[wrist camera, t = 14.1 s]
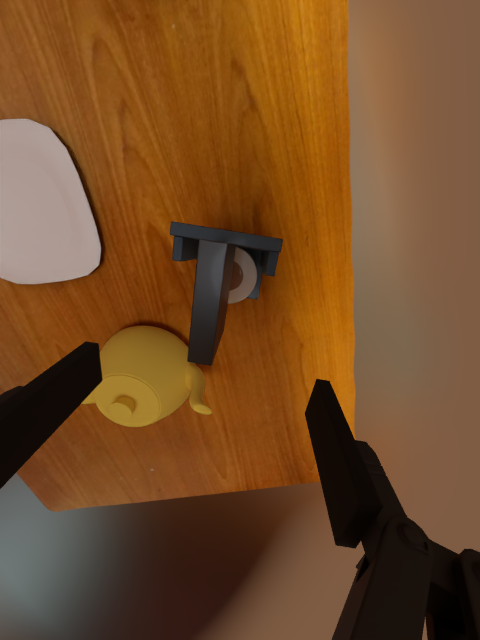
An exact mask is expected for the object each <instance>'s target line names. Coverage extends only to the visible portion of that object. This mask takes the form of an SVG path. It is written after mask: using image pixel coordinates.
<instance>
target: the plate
mask: <svg viewBox="0 0 480 640" xmlns="http://www.w3.org/2000/svg"><path fill="white" fill-rule="evenodd" d="M101 250H102V247H101V243H100V239H99V234H98V230H97V226H96V223H95V220H94V217H93V214H92V211H91V208H90V204H89V201H88V199H87V196H86V193H85V190H84V187H83V185H82V182H81V179H80V176H79V174H78V171H77V169H76V167H75V165H74V163H73V160H72V158H71V156H70V154H69V152H68V149H67V148H66V147H65V146H64V144H63V143H62V142H61V141H60V139H59V138H58V137H57V136H56V135H55V133H54V132H53V131H52V130H51V128H49V127H46V126H44V125H41V124H39V123H37V122H34V121H32V120H30V119H4V120H0V278H2V279H5V280H8V281H11V282H13V283H16V284H41V283H51V282H58V281H66V280H72V279H76V278H79V277H83V276H86V275H89V274H90V273H91V272H92V271H93V270H94V269H96V268H97V267H98V266H99V265H100V257H101Z"/></svg>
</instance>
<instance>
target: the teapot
mask: <svg viewBox="0 0 480 640" xmlns="http://www.w3.org/2000/svg"><path fill="white" fill-rule="evenodd" d="M187 357H188V347H187V346H186V344H185V343H184V342H183V341H182V340H180V339H179V338H178V337H177V336H175V335H174V334H172V333H170V332H168V331H166V330H164V329H161V328H158V327H153V326H144V325H142V326H133V327H128V328H125V329H123V330H121V331H119V332H117V333H116V334H115V335H113V336H112V337H111V338H110V339H109V340H108V341H107V342H106V344H105V345H104V347H103V348H102V350H101V351H100V361H101V370H102V379H103V381H102V382H101V383H100V384H99V385H98V386H97V387H96V388H95V389H94V390H93V391H92V392H91V394H90V395H89V396H88V397H87V398H86V399H85V400H84V401H83V402H82V403H81V404H91V403H96V405H97V407H98V408H99V410H100V411H101V412H102V413H103V414H104V415H105V416H106V417H107V418H109V419H110V420H112V421H113V422H116V423H118V424H121V425H124V426H129V427H141V426H146V425H149V424H152V423H154V422H156V421H158V420H160V419H162V418H164V417H166V416H168V415H169V414H171V413H172V412H174V411H175V410H176V409H178V408H179V407H180V406H181V405H182V404H183V403H184V402H185V400H186V399H187V398H188V396H189V395H190V398H189V402H190V405H191V407H192V409H193V410H195V411H196V412H198V413H201V414H206V415H209V414H211V413H212V410H211V409H210V408H209V407H207V406H206V405H205V404H204V403H203V401H202V397H203V393H204V390H205V377H204V374H203V372H202V370H201V369H200V368H199V367H198V366H196V363H191V362H187Z"/></svg>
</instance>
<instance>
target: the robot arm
mask: <svg viewBox="0 0 480 640" xmlns="http://www.w3.org/2000/svg"><path fill="white" fill-rule="evenodd" d="M102 381H103V379H102V370H101V361H100V353H99V344H98V343H92V342H84V343H83V344H82V345H80V346H79V347H78V348H76V349H75V350H73V351H72V352H71V353H69V354H68V355H67V356H65V357H64V358H62V359H61V360H60V361H58V362H57V363H56V364H54V365H53V366H52V367H50V368H49V369H47V370H46V371H45V372H43V373H42V374H41V375H39V376H38V377H36V378H35V379H34V380H32V381H31V382H30V383H28V384H27V385H25V386H24V387H23V386H18V387H15V388H13V389H11V390H9V391H6V392H4V393H3V394H1V395H0V489H1V488H2V487H3V486H4V485H5V484H6V482H7V481H8V480H9V479H10V478H11V477H12V476H13V475H14V474H15V473H16V472H17V471H18V470H19V469H20V468H21V467H22V466H23V464H24V463H25V462H26V461H27V460H28V459H29V458H30V457H31V456H32V455H33V454H34V453H35V452H36V451H37V450H38V449H39V448H40V446H41V445H42V444H43V443H44V442H45V441H46V440H47V439H48V438H49V437H50V436H51V435H52V434H53V433H54V432H55V431H56V430H57V428H58V427H59V426H60V425H61V424H62V423H63V422H64V421H65V420H66V419H67V418H68V417H69V416H70V415H71V414H72V413H73V412H74V410H75V409H76V408H77V407H78V406H79V405H80V404H81V403H82V402H83V401H84V400H85V399H86V398H87V397H88V396H89V395H90V394H91V392H92V391H93V390H94V389H95V388H96V387H97V386H98V385H99V384H100V383H101V382H102ZM305 416H306V421H307V425H308V429H309V434H310V438H311V442H312V446H313V451H314V455H315V459H316V463H317V468H318V472H319V476H320V480H321V485H322V489H323V493H324V498H325V502H326V506H327V510H328V515H329V519H330V523H331V527H332V531H333V536H334V540H335V544H336V545H337V546H344V547H350V548H356V547H357V545H358V544H359V542H360V541H361V542H362V545H363V548H364V551H365V554H364V556H363V557H362V558H361V560H360V561H359V563H358V564H357V565H356V568H357V569H358V571H357V573H356V576H355V579H354V581H353V584H352V587H351V589H350V592H349V595H348V597H347V600H346V603H345V605H344V608H343V611H342V614H341V616H340V619H339V621H338V624H337V627H336V630H335V632H334V635H333V637H332V640H422V634H423V627H424V620H425V617H426V627H427V637H428V640H480V552H477V551H475V550H473V549H464V550H463V551H462V552H461V553H460V554H457V553H455V552H453V551H451V550H449V549H447V548H445V547H443V546H441V545H439V544H437V543H435V542H433V541H432V540H430V539H429V538H428V537H427V535H426V534H425V533H424V531H423V530H422V529H421V528H420V527H419V526H418V525H417V524H416V523H415V522H414V521H412V520H411V519H409V518H407V515H406V514H405V512H404V510H403V508H402V506H401V504H400V502H399V500H398V498H397V496H396V494H395V492H394V490H393V488H392V486H391V484H390V482H389V480H388V477H387V476H386V474H385V472H384V469H383V467H382V466H381V463H380V461H379V459H378V457H377V455H376V453H375V452H374V451H373V449H372V448H371V447H370V446H369V445H368V444H367V443H366V442H363V441H357V440H355V439H354V437H353V435H352V432H351V430H350V428H349V425H348V423H347V421H346V418H345V416H344V414H343V411H342V409H341V407H340V404H339V402H338V400H337V397H336V395H335V393H334V390H333V388H332V386H331V384H330V381H326V380H320V379H316V382H315V385H314V388H313V391H312V394H311V397H310V400H309V403H308V406H307V409H306V411H305Z"/></svg>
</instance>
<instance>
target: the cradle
mask: <svg viewBox="0 0 480 640" xmlns="http://www.w3.org/2000/svg"><path fill="white" fill-rule="evenodd" d="M170 235H174V243H173V257H172V259H173V260H174V261H187V260H193V259H197V266H196V276H195V286H194V296H193V306H192V317H191V327H190V337H189V347H188V357H187V362H191V363H197V364H203V365H210V366H212V364H213V361H214V358H215V355H216V352H217V349H218V346H219V343H220V340H221V337H222V334H223V331H224V326H225V319H226V312H227V305H228V298H229V291H230V283H231V276H232V269H233V262H234V255H235V248H236V246H237V247H240V248H243V249H245V250H246V251H248V252H249V253H250V255H251V256H252V258H253V260H254V262H255V266H256V270H257V280H256V284H255V287H254V289H253V291H252V292H251V293H250V294H249V295H248V296H247V297H246V298H251V299H258V295H259V289H260V284H261V278H262V273H263V272H264V273H265V275H268V276H275V270H276V265H277V260H278V255H279V252H280V251H281V247H282V242H283V240H282V239H278V238H272V237H266V236H260V235H253V234H247V233H241V232H235V231H228V230H222V229H216V228H210V227H204V226H197V225H191V224H185V223H179V222H171V228H170Z"/></svg>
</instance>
